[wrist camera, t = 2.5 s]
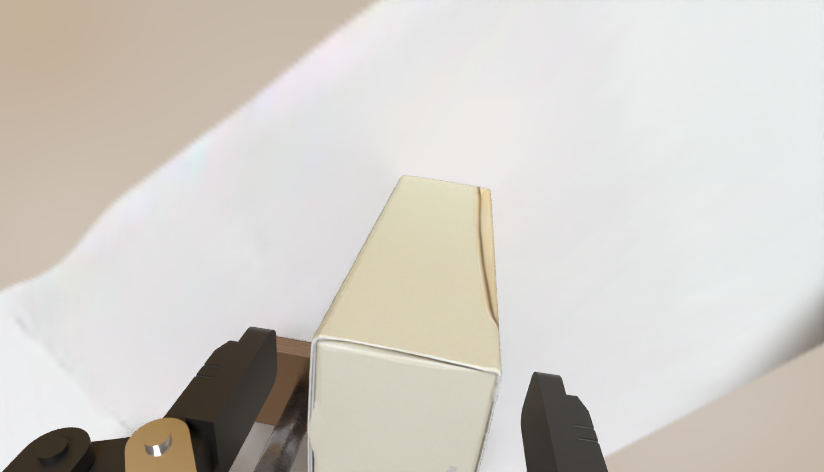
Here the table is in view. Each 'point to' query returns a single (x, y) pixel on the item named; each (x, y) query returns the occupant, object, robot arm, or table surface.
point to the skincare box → (411, 340)
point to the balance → (286, 406)
